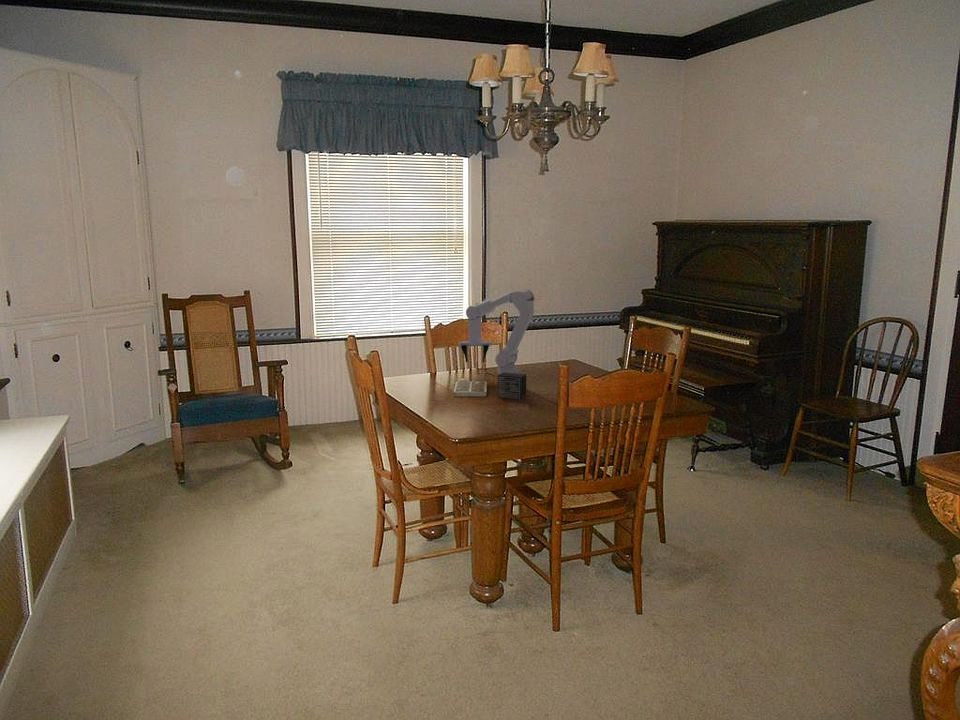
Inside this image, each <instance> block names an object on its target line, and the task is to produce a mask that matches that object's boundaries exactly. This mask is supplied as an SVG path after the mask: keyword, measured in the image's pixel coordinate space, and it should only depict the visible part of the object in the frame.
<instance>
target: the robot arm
mask: <svg viewBox="0 0 960 720" xmlns="http://www.w3.org/2000/svg"><path fill="white" fill-rule="evenodd" d="M535 299H536V298H535V295H534V293H533V291H531V290H530V289H529V288H525V289H522V290H515V291H512V292H508V293H505V294H503V295H501V296H498V297H497V298H495V299H491V298H485V299H483V301H481V302H476V303H475V305H469V306H468V307H467V308H466V310H465V316H466V317H467V319H468V340H466V341H465V340H464V341H458V347H460V348H461V351H462V353H463V356H464V359H465V363H468V359H469V358H468V347H482V351H483V352H482V353H483V355H482V362H483V363H485V359H486V355H487V353H488V350H489V347H492V341H490V340H482V318H483V316H486V315H488V314H491V313H493V312H494V311H495V310H496V308H497V307H500V306H502V305H505V304H507V303H510V304H512V305H514V307H515V308H516V309H517V310H518V312H519V316H518V318H517V320H516V321H515V325H514V327H513V329H512V331H511V333H510V335H509V337H508V339H507V342H506V344H505V345H504V346H503V348H501V349H500V351H499V353H497V354H496V356H495V364H496V365H497V367H498V369H497V370H498V371H497V372H498V374H497V376H498V375H499V374H501V373H517V374H520V367H519V366H517V365H515V363H516V362H517V360H518V354H519V346H520V344H521V343H522V340H523V338H524V336H525V334H526V331H527V330H528V328H529V325H530V323H531V321H532V319H533V317H534V314H535V313H534V312H535V310H534V307H535V306H534V303H535Z"/></svg>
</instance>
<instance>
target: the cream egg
mask: <svg viewBox="0 0 960 720" xmlns="http://www.w3.org/2000/svg"><path fill="white" fill-rule="evenodd" d="M458 381H459V383H458V384H459V388H468V381H469V380H468V379H466V378H460V379H459V380H458Z"/></svg>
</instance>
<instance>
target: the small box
mask: <svg viewBox="0 0 960 720" xmlns="http://www.w3.org/2000/svg"><path fill="white" fill-rule="evenodd" d="M497 397H498V398H504V399H510V400H511V399H512V400H513V399H514V400H523V399H524V398H526V397H527V374H525V373H519V374H517V373H501V374H499V375H498V374H497Z"/></svg>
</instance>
